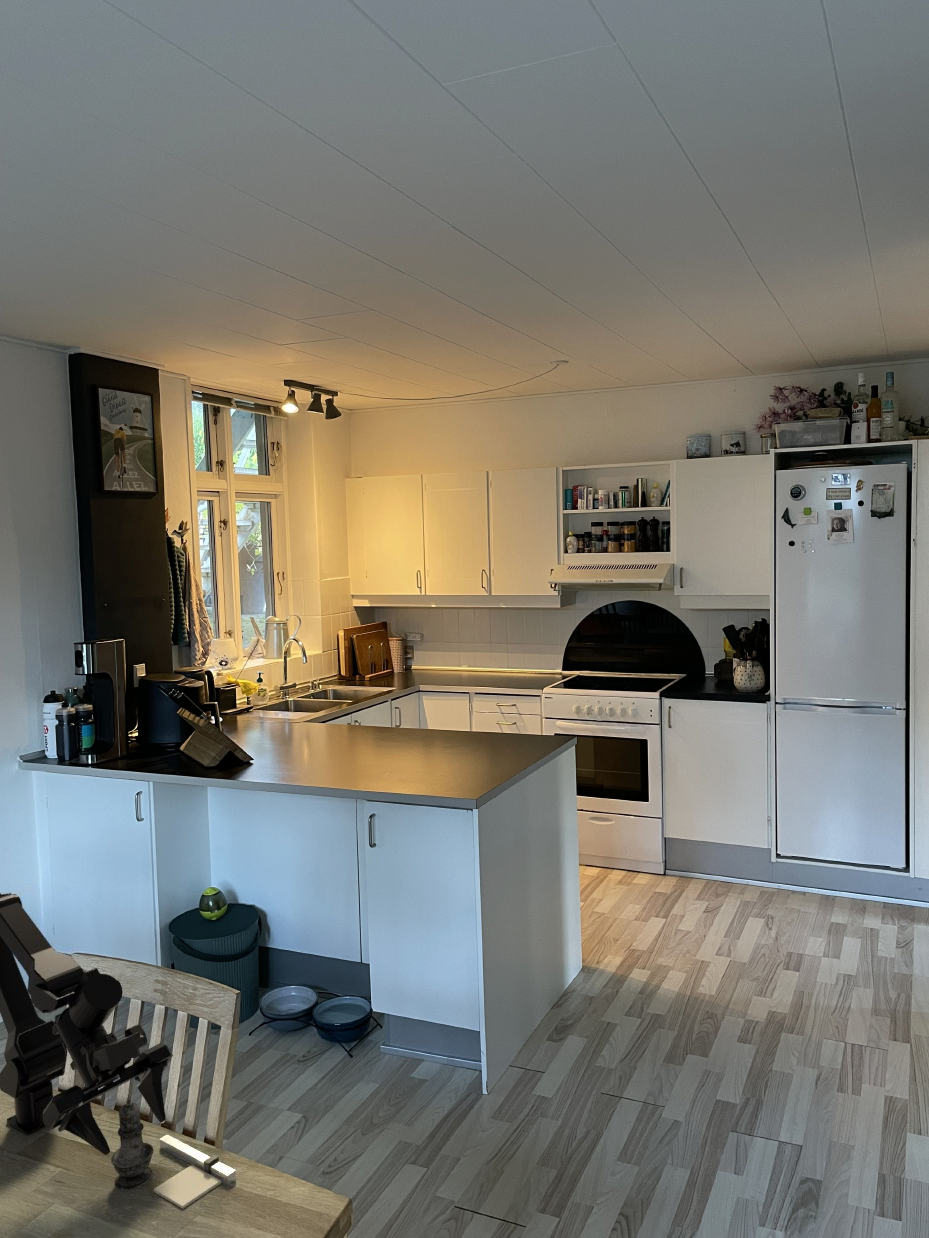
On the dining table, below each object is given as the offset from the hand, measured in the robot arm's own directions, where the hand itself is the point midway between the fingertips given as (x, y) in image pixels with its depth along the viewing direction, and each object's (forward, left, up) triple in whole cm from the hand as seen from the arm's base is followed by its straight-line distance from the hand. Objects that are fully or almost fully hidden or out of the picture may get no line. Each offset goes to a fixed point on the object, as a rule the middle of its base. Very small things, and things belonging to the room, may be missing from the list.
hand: (136, 1136), depth 141 cm
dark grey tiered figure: (-1, 0, -7) cm, 7 cm away
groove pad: (+7, +3, -7) cm, 10 cm away
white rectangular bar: (+4, +7, -7) cm, 10 cm away
